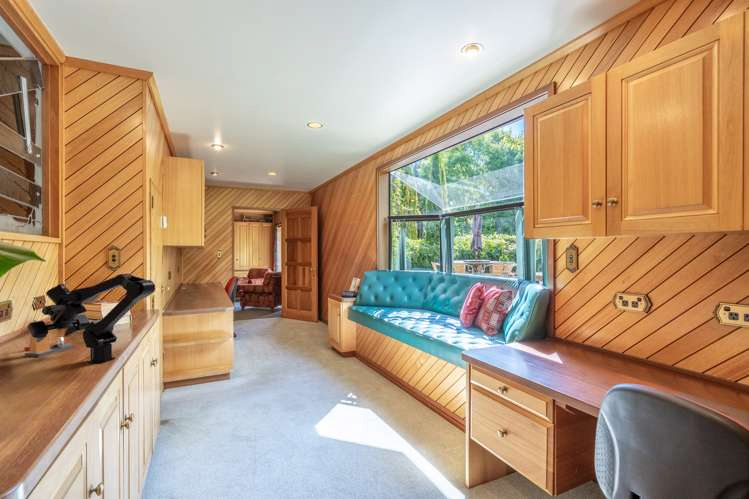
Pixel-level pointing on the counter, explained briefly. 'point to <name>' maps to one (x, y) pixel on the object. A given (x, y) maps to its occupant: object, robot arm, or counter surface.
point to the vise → (52, 348)
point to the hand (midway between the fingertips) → (51, 338)
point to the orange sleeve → (40, 344)
